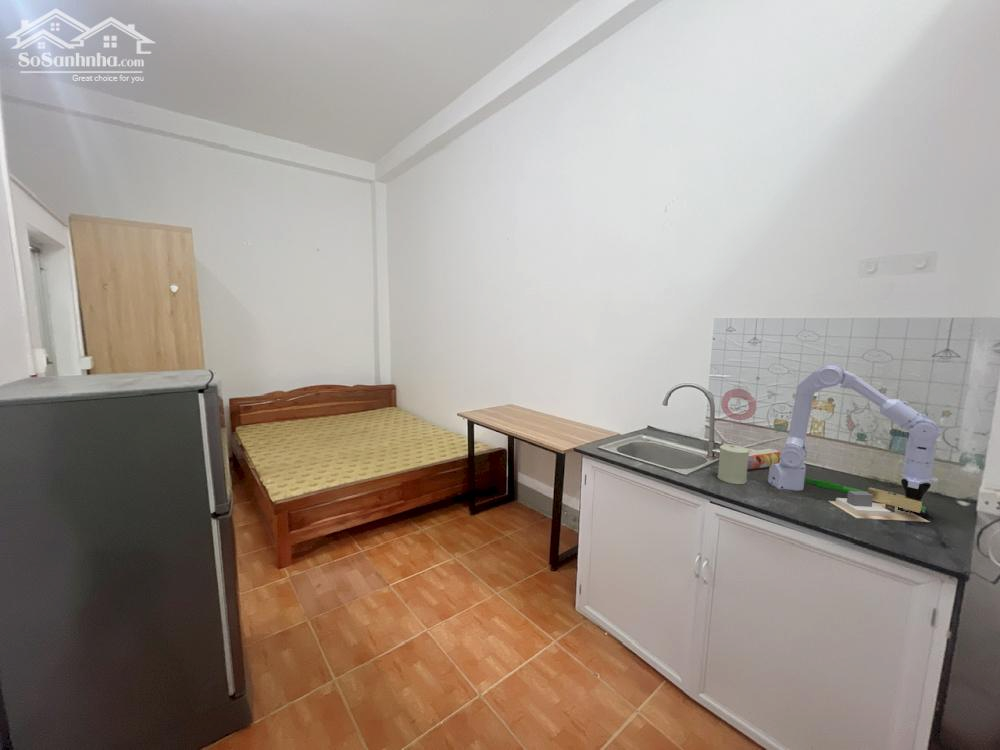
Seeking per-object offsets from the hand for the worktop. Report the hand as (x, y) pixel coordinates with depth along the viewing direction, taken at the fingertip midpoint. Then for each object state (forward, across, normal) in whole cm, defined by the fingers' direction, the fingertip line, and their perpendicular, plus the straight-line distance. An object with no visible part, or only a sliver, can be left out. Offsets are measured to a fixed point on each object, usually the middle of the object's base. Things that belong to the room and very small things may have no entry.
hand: (912, 505), depth 113 cm
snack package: (+4, +12, +44) cm, 46 cm away
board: (+4, -5, +7) cm, 9 cm away
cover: (+2, -8, +10) cm, 12 cm away
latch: (+1, -2, +4) cm, 4 cm away
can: (+4, -9, +44) cm, 46 cm away
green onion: (+4, +6, +13) cm, 15 cm away
